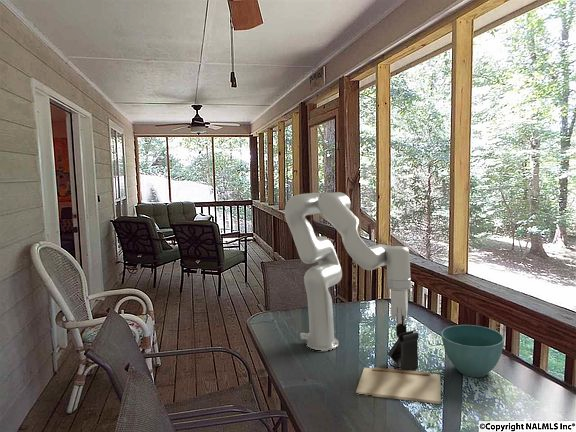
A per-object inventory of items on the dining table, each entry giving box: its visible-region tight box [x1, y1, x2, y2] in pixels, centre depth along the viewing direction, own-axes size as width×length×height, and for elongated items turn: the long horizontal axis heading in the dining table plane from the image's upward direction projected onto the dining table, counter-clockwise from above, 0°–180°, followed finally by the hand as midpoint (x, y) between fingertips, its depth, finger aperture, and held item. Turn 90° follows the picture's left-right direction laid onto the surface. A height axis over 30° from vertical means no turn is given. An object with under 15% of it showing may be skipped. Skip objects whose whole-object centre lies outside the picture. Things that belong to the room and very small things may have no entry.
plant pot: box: [440, 324, 505, 378], centre depth 131 cm, size 18×18×12 cm
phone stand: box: [387, 329, 419, 371], centre depth 136 cm, size 9×6×12 cm, turn 24°
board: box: [355, 366, 442, 405], centre depth 126 cm, size 24×16×1 cm, turn 71°
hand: (401, 336), depth 138 cm, fingers closed
